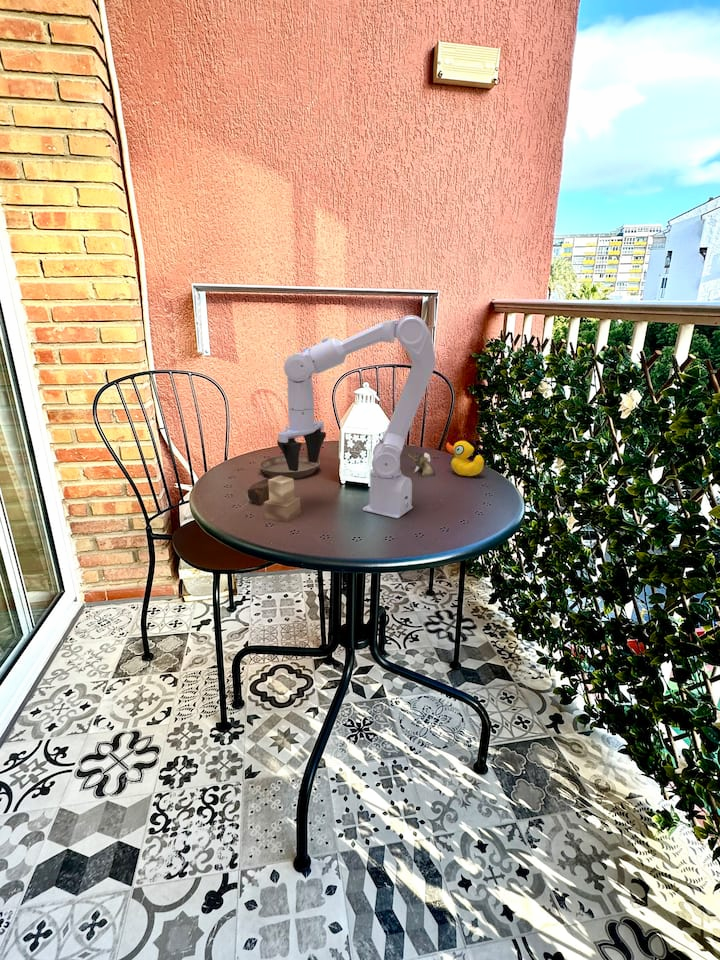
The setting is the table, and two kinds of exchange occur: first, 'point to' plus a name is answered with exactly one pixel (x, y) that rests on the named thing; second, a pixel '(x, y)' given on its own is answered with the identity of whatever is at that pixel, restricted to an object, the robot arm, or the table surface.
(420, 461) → the eagle figurine
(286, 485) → the beech block
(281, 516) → the tan wooden block
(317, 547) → the table surface
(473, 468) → the duckling
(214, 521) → the table surface
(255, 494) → the brick
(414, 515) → the table surface
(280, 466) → the plant saucer
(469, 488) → the table surface
